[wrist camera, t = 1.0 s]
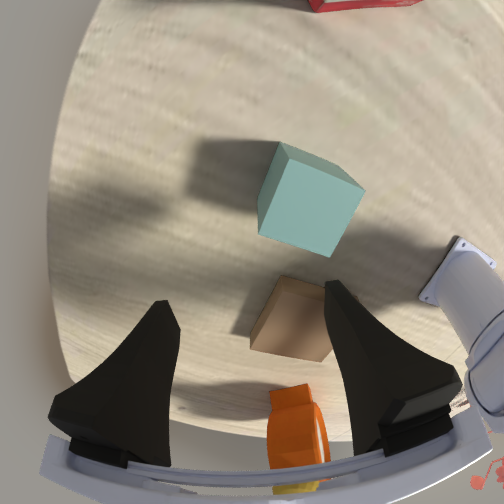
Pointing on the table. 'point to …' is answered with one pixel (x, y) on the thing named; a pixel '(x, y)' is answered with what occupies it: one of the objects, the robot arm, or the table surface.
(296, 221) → the teal block
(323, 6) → the ink box
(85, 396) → the robot arm
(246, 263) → the table surface
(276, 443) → the alarm clock
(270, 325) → the walnut slab
